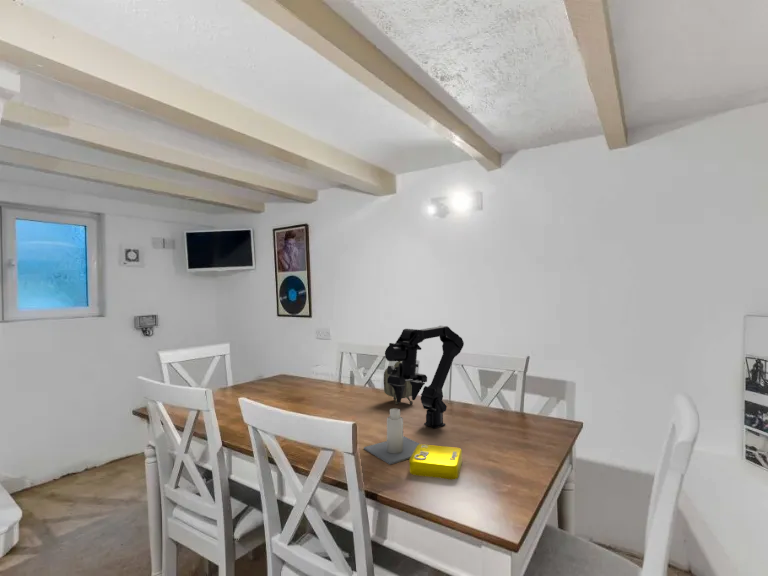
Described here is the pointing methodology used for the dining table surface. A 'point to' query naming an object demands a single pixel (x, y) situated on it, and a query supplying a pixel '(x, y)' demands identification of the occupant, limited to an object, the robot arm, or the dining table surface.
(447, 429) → the dining table surface
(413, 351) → the robot arm
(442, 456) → the element tile
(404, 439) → the slate mat
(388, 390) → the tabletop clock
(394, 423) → the white bottle
